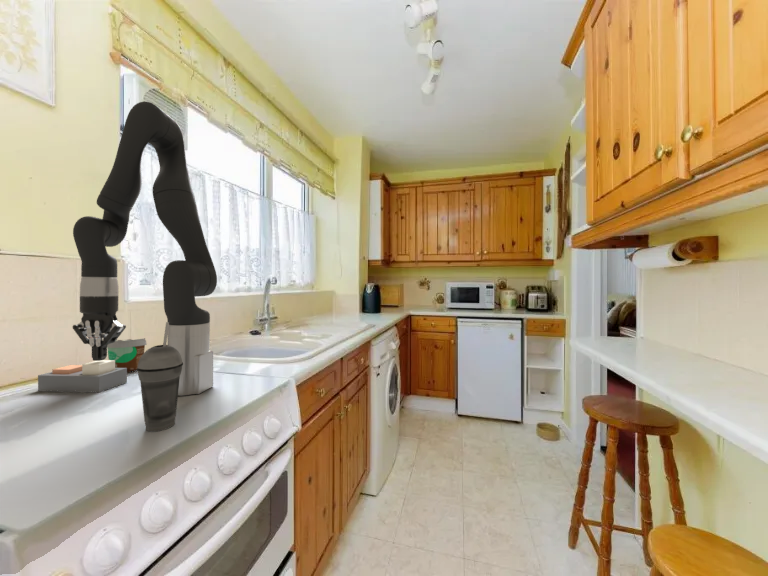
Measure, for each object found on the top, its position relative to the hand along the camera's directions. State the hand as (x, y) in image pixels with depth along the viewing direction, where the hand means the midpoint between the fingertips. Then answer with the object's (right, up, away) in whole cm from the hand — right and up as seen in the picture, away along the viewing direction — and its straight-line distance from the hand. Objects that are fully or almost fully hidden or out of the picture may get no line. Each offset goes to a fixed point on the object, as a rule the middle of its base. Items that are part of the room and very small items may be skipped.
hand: (99, 359), depth 82 cm
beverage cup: (+32, -8, -22) cm, 40 cm away
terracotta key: (-8, -5, 0) cm, 10 cm away
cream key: (0, -4, 0) cm, 4 cm away
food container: (-7, -7, +15) cm, 18 cm away
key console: (-4, -7, 0) cm, 8 cm away
